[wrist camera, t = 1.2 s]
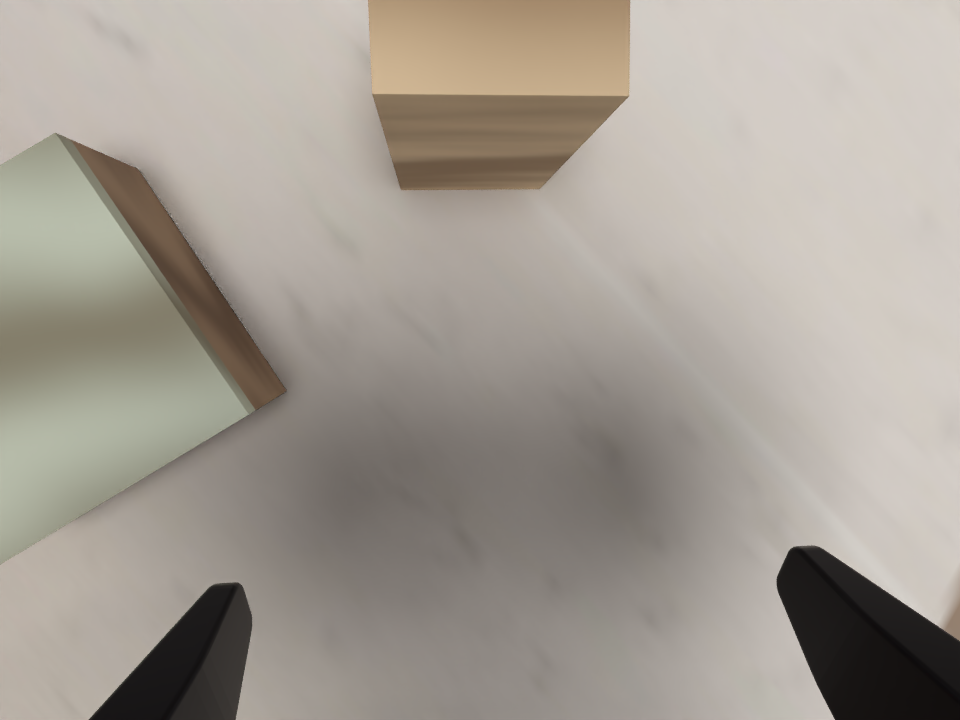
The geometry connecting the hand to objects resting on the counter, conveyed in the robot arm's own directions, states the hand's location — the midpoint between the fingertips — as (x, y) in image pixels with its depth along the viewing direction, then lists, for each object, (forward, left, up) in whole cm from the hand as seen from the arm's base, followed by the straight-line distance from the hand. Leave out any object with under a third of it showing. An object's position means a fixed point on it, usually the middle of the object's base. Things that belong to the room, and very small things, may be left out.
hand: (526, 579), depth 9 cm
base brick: (+9, +10, -12) cm, 18 cm away
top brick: (+9, -5, -12) cm, 16 cm away
